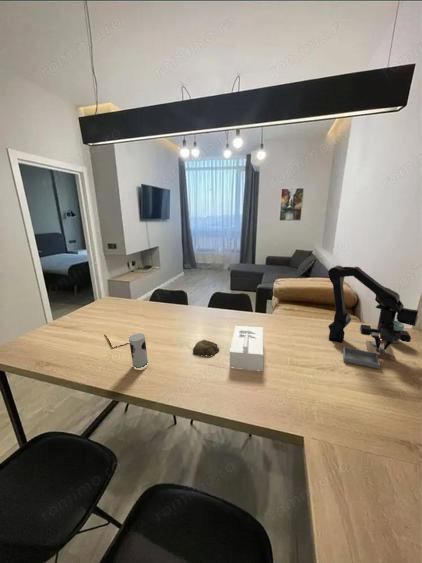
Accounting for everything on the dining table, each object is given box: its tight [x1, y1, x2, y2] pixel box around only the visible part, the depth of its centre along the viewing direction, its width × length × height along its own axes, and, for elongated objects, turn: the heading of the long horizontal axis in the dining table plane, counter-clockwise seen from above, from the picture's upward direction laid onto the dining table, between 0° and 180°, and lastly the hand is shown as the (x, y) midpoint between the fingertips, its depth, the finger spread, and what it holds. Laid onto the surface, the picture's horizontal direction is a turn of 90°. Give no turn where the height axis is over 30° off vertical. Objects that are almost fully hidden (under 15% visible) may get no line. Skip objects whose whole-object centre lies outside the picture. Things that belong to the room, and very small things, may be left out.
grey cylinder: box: [129, 333, 149, 368], centre depth 109 cm, size 7×7×15 cm
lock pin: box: [376, 337, 387, 353], centre depth 114 cm, size 3×3×8 cm
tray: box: [342, 346, 381, 371], centre depth 110 cm, size 14×10×2 cm
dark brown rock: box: [192, 339, 220, 357], centre depth 122 cm, size 13×12×5 cm
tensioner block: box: [365, 340, 396, 361], centre depth 117 cm, size 10×12×3 cm
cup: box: [392, 320, 405, 344], centre depth 124 cm, size 8×8×10 cm
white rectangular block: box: [229, 325, 264, 372], centre depth 117 cm, size 14×25×11 cm, turn 169°
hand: (380, 348), depth 114 cm, fingers closed on lock pin, 2 cm apart
